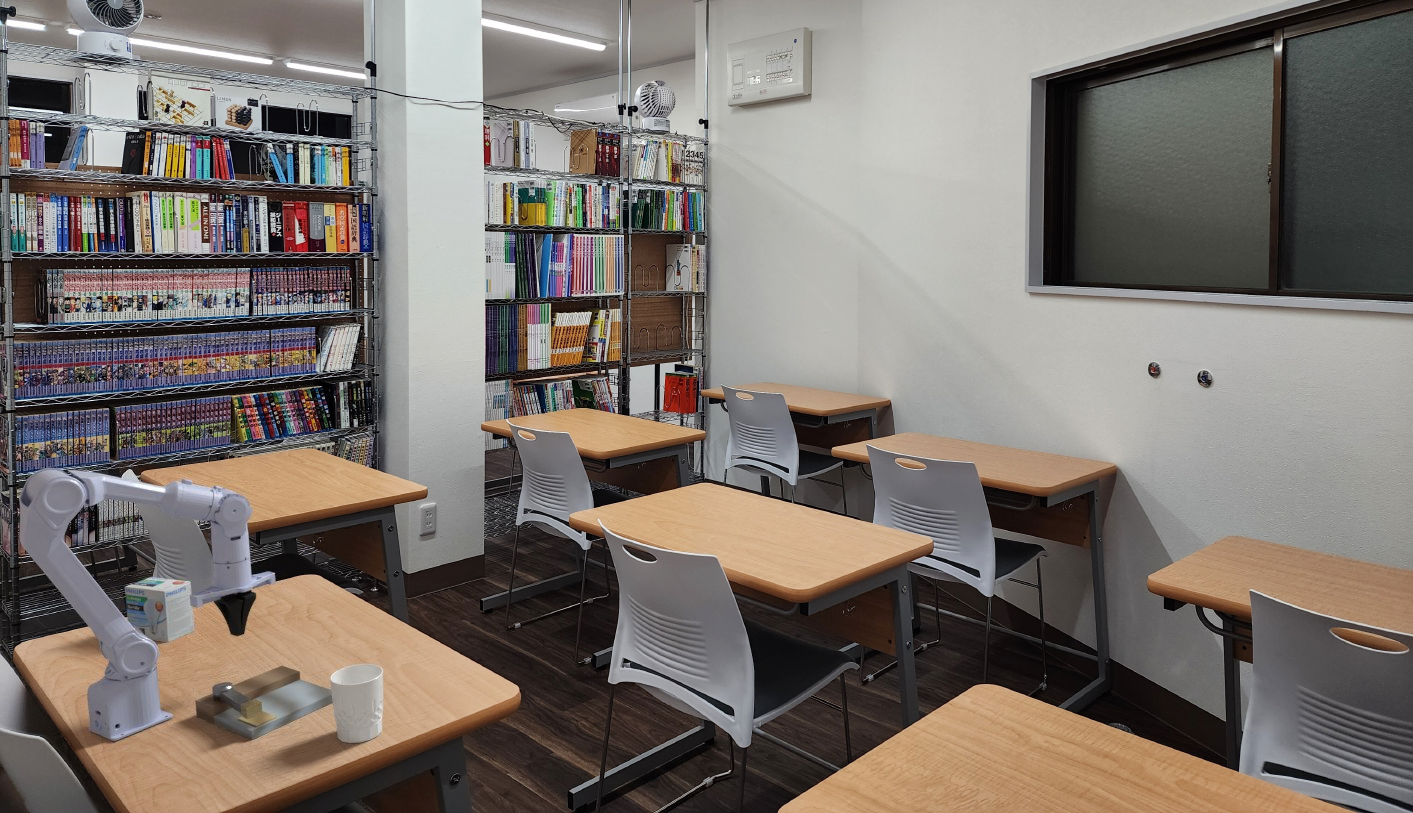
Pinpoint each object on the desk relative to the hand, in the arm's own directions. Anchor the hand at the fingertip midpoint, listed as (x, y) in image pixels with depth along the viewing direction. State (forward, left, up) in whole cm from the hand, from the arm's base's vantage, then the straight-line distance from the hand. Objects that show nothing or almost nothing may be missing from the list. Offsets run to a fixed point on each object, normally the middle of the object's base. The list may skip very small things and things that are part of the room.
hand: (237, 634), depth 163 cm
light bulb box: (+8, +39, -11) cm, 41 cm away
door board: (-2, -11, -10) cm, 15 cm away
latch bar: (-8, -11, -7) cm, 15 cm away
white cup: (0, -31, -11) cm, 33 cm away
